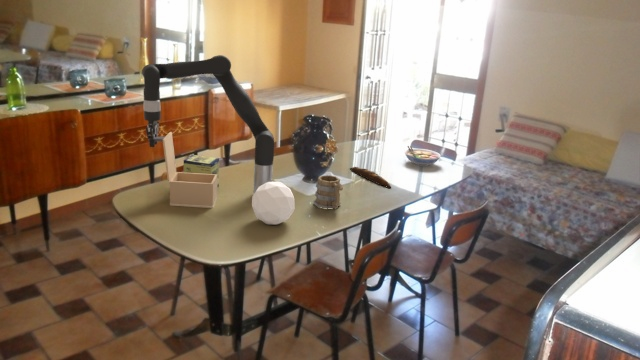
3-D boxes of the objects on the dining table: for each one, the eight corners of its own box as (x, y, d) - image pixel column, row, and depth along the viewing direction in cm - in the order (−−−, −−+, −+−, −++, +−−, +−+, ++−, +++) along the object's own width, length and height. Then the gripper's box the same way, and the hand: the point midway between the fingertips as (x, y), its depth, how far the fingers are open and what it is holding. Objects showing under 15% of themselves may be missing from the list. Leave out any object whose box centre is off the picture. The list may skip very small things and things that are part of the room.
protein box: (211, 193, 282) (212, 163, 277) (183, 188, 285) (182, 159, 280) (219, 186, 292) (219, 158, 287) (191, 182, 295) (191, 154, 290)
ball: (268, 240, 251) (251, 215, 236) (257, 210, 264) (240, 184, 250) (306, 221, 251) (291, 194, 236) (292, 191, 265) (277, 165, 250)
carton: (217, 197, 277) (217, 174, 273) (212, 207, 264) (212, 184, 260) (176, 194, 276) (176, 171, 272) (170, 205, 263) (169, 181, 259)
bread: (394, 189, 310) (395, 180, 308) (388, 190, 307) (389, 182, 306) (352, 169, 339) (353, 161, 337) (346, 170, 336) (347, 162, 335)
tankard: (310, 201, 282) (312, 173, 277) (333, 199, 287) (335, 171, 282) (326, 216, 264) (328, 186, 260) (350, 214, 269) (352, 184, 265)
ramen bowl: (442, 171, 346) (444, 159, 343) (405, 169, 346) (407, 156, 343) (435, 160, 370) (437, 148, 367) (401, 157, 369) (402, 145, 367)
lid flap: (171, 131, 266) (153, 132, 266) (164, 139, 252) (144, 140, 252) (176, 171, 273) (158, 172, 273) (169, 181, 259) (150, 181, 259)
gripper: (156, 113, 249) (157, 150, 254) (164, 106, 262) (165, 142, 268) (139, 112, 248) (141, 149, 254) (148, 105, 262) (149, 141, 267)
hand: (153, 145), depth 261 cm, fingers closed on lid flap, 4 cm apart
